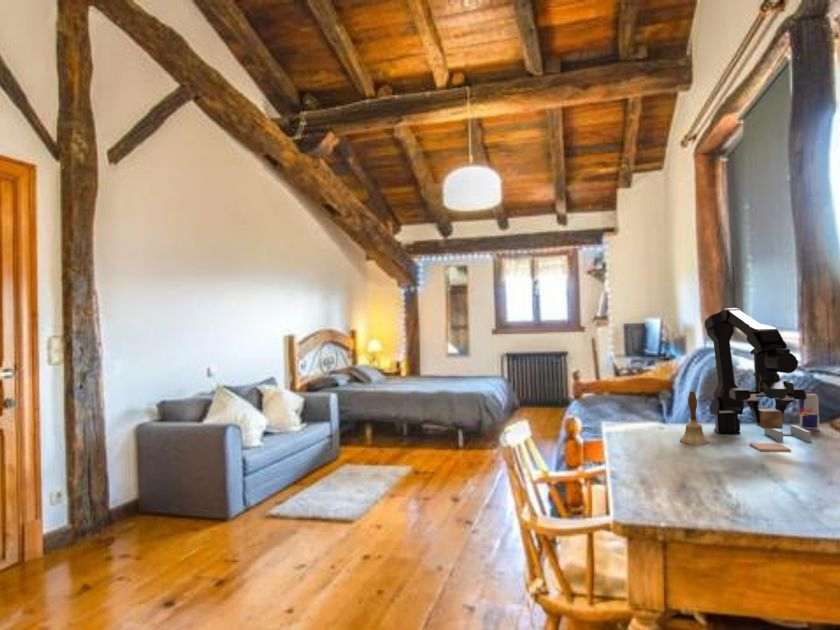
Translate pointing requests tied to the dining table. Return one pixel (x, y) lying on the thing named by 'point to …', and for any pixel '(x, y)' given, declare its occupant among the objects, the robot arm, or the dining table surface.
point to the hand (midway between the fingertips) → (768, 422)
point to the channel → (795, 431)
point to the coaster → (770, 447)
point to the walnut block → (770, 419)
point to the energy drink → (809, 412)
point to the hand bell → (693, 425)
